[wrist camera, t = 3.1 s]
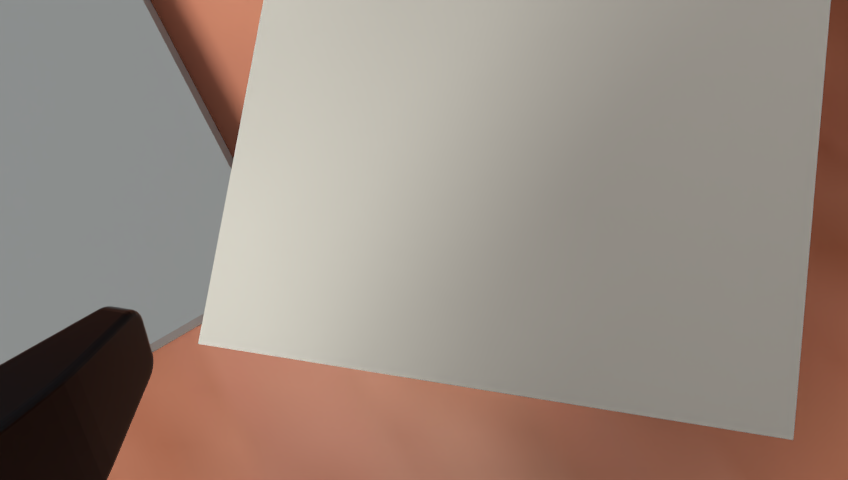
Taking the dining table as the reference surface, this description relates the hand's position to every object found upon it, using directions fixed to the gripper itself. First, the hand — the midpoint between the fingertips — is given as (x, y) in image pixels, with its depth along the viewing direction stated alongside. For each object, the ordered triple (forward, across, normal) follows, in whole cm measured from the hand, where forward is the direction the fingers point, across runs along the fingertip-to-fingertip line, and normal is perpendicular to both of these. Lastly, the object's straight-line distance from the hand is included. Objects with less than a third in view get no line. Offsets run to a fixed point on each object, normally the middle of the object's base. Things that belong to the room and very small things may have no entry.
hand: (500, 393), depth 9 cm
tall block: (+9, 0, +5) cm, 10 cm away
